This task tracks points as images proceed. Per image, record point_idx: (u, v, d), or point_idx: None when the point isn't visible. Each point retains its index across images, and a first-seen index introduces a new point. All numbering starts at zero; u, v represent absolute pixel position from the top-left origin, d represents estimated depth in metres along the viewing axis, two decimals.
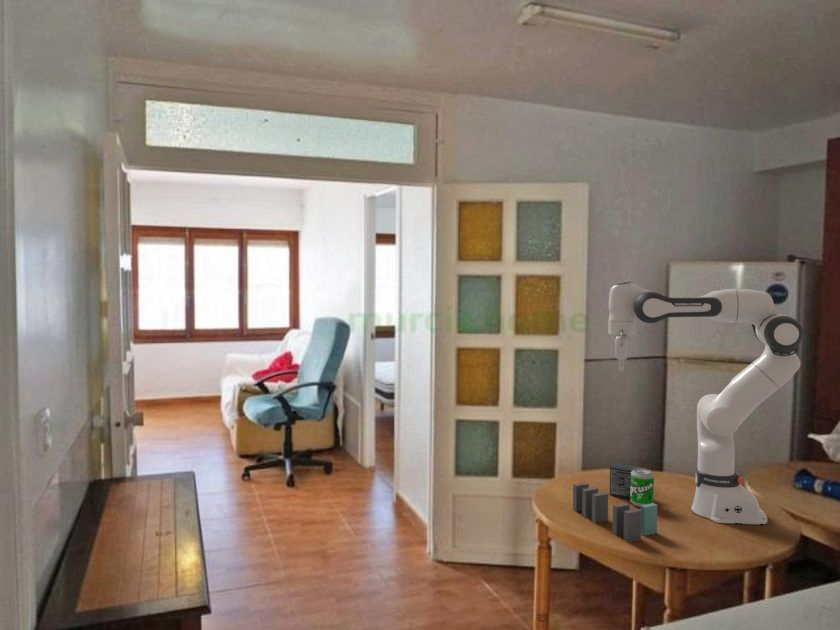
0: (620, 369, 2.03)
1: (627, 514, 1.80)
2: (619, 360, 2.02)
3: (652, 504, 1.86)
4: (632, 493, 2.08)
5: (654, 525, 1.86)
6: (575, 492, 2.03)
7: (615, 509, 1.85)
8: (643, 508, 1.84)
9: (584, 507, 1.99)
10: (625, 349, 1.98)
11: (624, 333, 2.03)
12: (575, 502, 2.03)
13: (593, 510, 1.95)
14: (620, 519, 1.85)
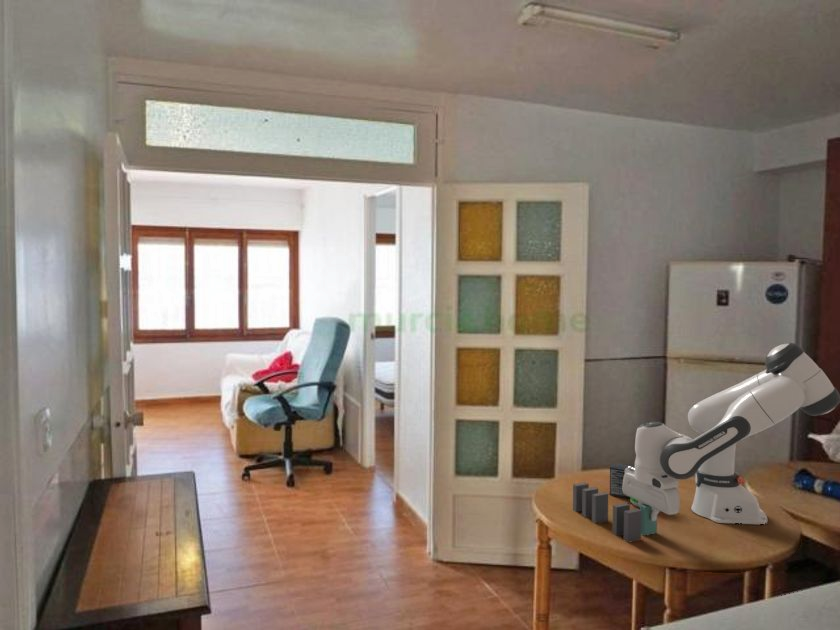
0: None
1: (627, 514, 1.80)
2: None
3: None
4: None
5: (654, 525, 1.86)
6: (575, 492, 2.03)
7: (615, 509, 1.85)
8: (643, 508, 1.84)
9: (584, 507, 1.99)
10: None
11: None
12: (575, 502, 2.03)
13: (593, 510, 1.95)
14: (620, 519, 1.85)
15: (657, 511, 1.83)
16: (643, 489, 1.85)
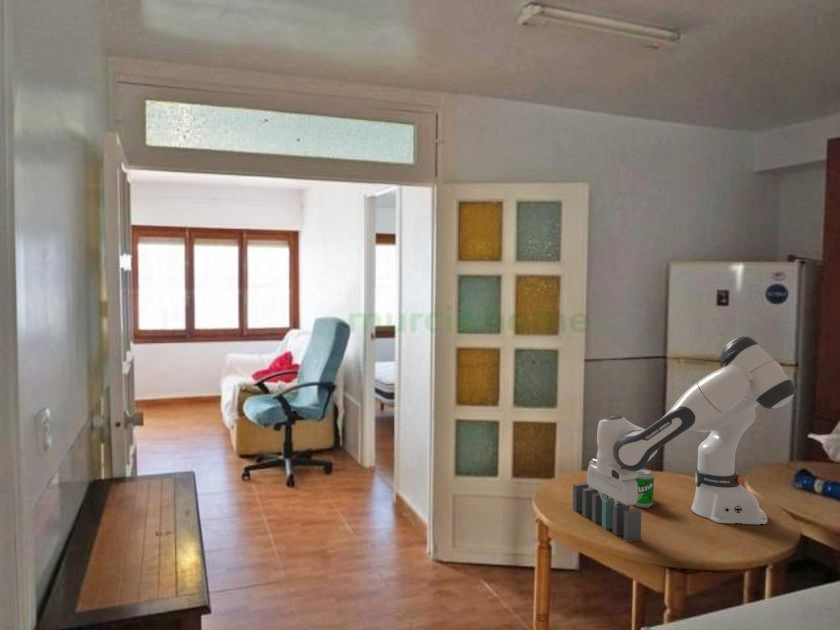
0: None
1: (627, 514, 1.80)
2: None
3: None
4: None
5: None
6: (575, 492, 2.03)
7: (615, 509, 1.85)
8: (604, 502, 1.89)
9: (584, 507, 1.99)
10: None
11: None
12: (575, 502, 2.03)
13: (593, 510, 1.95)
14: (620, 519, 1.85)
15: (619, 503, 1.87)
16: (605, 481, 1.90)
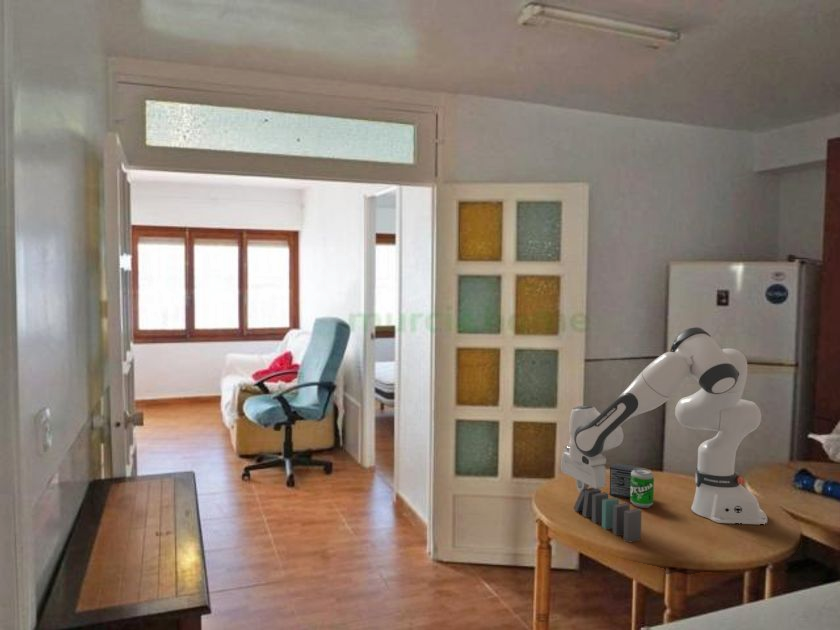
0: None
1: (627, 514, 1.80)
2: None
3: (613, 498, 1.91)
4: (632, 493, 2.08)
5: None
6: (581, 497, 2.00)
7: (615, 509, 1.85)
8: (604, 502, 1.89)
9: (585, 507, 1.98)
10: None
11: None
12: (578, 504, 2.02)
13: (593, 510, 1.95)
14: (620, 519, 1.85)
15: (586, 485, 2.02)
16: (576, 467, 2.04)
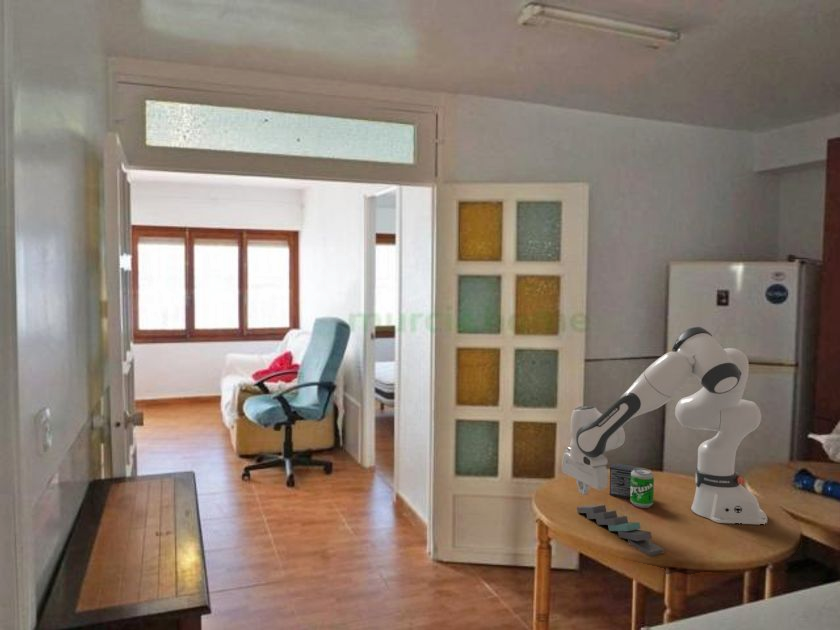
0: None
1: None
2: None
3: (637, 525, 1.82)
4: (632, 493, 2.08)
5: None
6: (589, 511, 1.97)
7: (635, 538, 1.76)
8: (625, 529, 1.81)
9: (592, 516, 1.95)
10: None
11: None
12: (583, 511, 2.00)
13: (604, 521, 1.90)
14: None
15: (588, 486, 2.01)
16: (578, 467, 2.03)
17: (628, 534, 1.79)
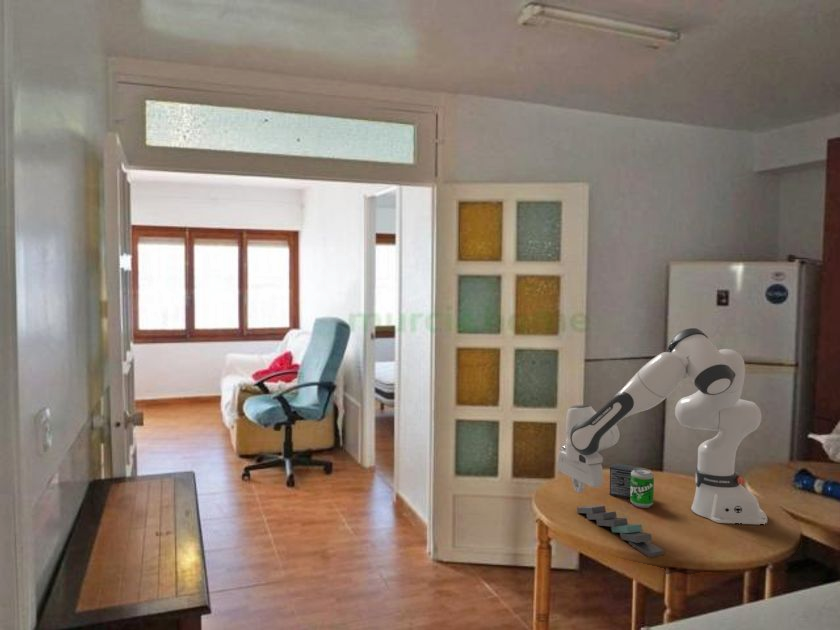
0: None
1: None
2: None
3: (638, 527, 1.80)
4: (632, 493, 2.08)
5: None
6: (588, 511, 1.96)
7: (634, 540, 1.75)
8: (626, 530, 1.80)
9: (592, 517, 1.94)
10: None
11: None
12: (582, 511, 2.00)
13: (603, 522, 1.89)
14: None
15: (583, 484, 2.03)
16: (573, 465, 2.05)
17: (628, 536, 1.78)
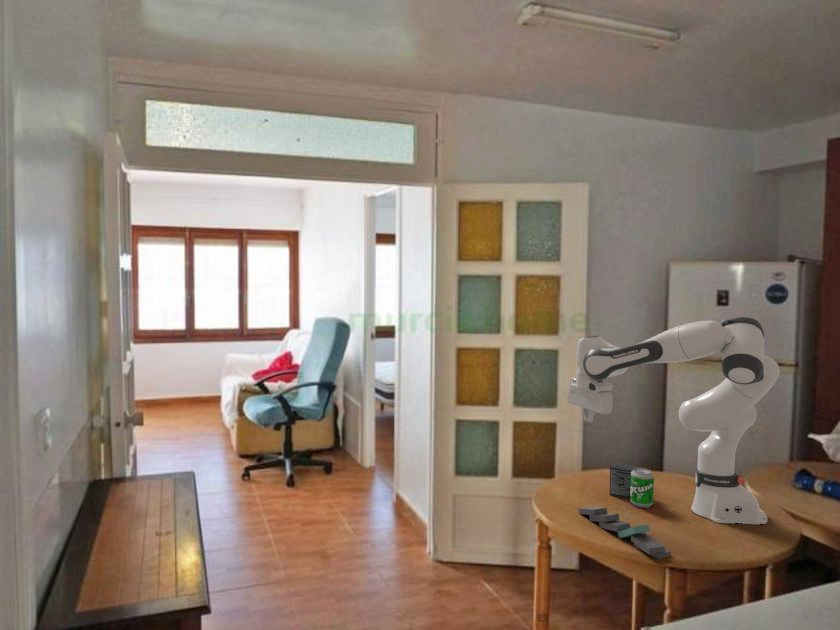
0: None
1: None
2: None
3: (645, 528, 1.77)
4: (632, 493, 2.08)
5: None
6: (589, 513, 1.96)
7: (647, 551, 1.70)
8: (633, 531, 1.76)
9: (595, 519, 1.93)
10: None
11: None
12: (584, 512, 1.99)
13: (606, 525, 1.87)
14: None
15: (593, 413, 2.07)
16: (583, 396, 2.09)
17: (641, 543, 1.73)
